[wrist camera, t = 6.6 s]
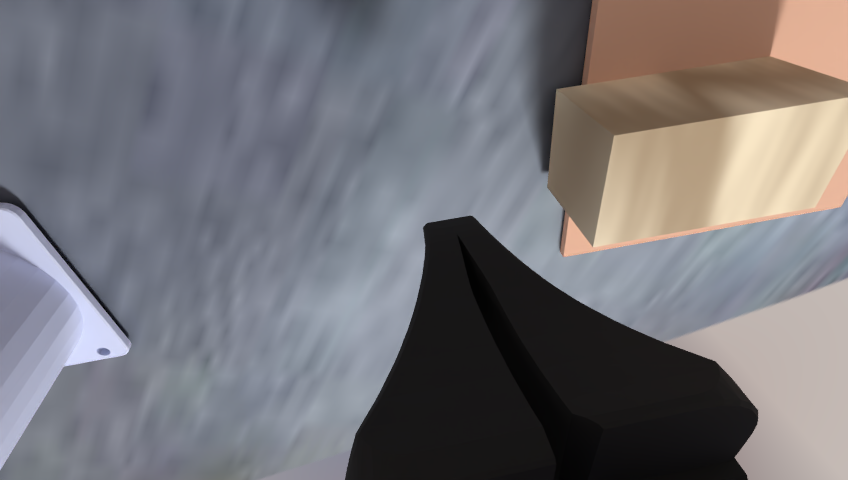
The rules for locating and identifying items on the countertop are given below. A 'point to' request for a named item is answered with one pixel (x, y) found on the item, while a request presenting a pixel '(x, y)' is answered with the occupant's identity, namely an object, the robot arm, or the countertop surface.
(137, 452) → the countertop surface
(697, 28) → the terracotta mat
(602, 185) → the birch block
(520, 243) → the countertop surface
